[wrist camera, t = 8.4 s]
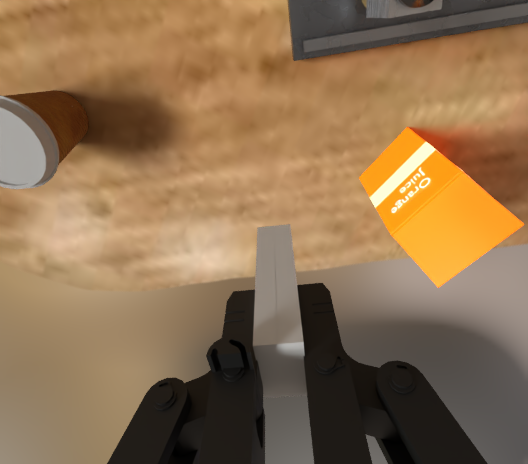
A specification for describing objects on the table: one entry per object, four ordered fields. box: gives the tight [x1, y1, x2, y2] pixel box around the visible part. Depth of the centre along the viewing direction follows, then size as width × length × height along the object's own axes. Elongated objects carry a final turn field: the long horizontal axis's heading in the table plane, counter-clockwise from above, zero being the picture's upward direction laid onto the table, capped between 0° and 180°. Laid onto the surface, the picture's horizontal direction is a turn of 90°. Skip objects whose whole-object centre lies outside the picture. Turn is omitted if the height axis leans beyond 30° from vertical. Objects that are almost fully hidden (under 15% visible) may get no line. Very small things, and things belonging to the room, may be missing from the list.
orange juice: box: [359, 127, 524, 288], centre depth 37 cm, size 8×9×20 cm
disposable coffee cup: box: [0, 91, 88, 189], centre depth 37 cm, size 10×10×12 cm
